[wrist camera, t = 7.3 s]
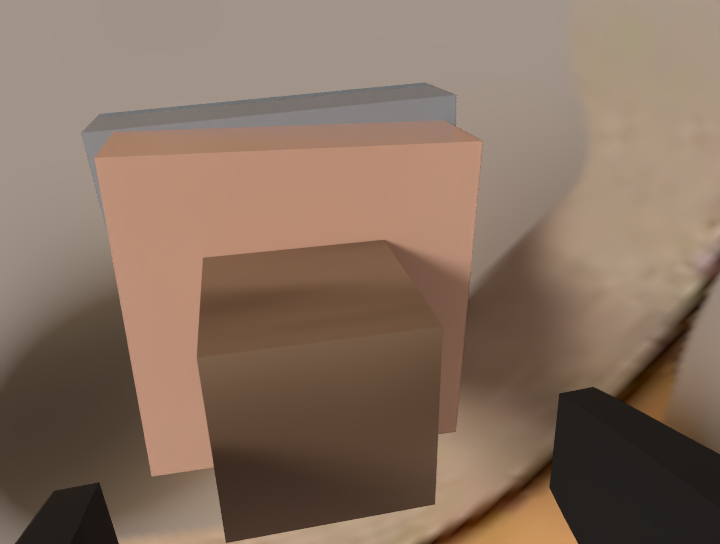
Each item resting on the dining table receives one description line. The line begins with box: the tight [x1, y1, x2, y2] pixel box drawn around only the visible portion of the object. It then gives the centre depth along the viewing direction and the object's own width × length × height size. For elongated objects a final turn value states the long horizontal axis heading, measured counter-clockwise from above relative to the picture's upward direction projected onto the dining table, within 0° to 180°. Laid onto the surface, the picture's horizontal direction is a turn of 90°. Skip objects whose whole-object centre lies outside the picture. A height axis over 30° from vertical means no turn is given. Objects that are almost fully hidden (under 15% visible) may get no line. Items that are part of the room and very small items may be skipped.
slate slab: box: [81, 83, 456, 238], centre depth 17 cm, size 9×9×2 cm
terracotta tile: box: [94, 120, 483, 476], centre depth 15 cm, size 8×8×2 cm
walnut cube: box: [197, 240, 443, 543], centre depth 12 cm, size 4×4×4 cm
